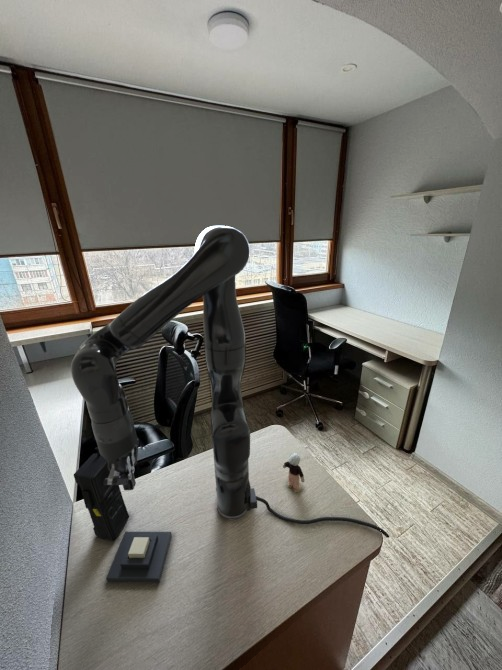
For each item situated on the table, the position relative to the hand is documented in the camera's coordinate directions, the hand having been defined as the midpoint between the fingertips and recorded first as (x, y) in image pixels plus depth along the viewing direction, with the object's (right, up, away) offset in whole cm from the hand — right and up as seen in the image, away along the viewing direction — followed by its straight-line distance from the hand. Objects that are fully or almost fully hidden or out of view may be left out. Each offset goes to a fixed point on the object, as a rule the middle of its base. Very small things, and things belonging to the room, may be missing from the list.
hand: (130, 487), depth 63 cm
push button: (+2, -19, +3) cm, 19 cm away
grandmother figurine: (+42, -11, +20) cm, 48 cm away
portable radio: (-9, -16, +9) cm, 21 cm away
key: (+2, -16, +1) cm, 16 cm away
